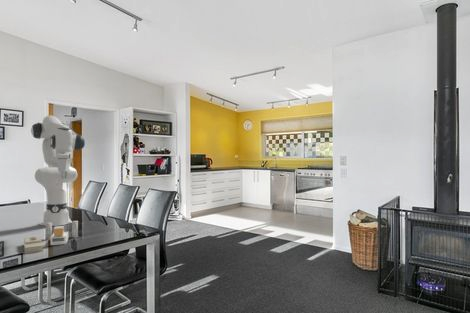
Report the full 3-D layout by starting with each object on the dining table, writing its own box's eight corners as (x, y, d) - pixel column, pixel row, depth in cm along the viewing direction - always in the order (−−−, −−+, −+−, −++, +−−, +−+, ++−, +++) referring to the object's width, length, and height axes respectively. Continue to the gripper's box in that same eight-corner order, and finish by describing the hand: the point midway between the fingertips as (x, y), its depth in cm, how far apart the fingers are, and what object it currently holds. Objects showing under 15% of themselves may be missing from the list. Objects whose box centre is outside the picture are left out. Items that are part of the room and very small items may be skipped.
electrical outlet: (24, 245, 144) (24, 237, 159) (24, 254, 144) (23, 245, 158) (42, 243, 148) (40, 235, 163) (42, 251, 148) (40, 243, 163)
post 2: (72, 236, 175) (72, 221, 175) (78, 236, 176) (78, 220, 176) (71, 237, 172) (71, 222, 172) (77, 237, 174) (77, 221, 174)
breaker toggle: (54, 235, 161) (54, 226, 161) (63, 234, 163) (63, 226, 163) (54, 236, 159) (54, 227, 159) (62, 235, 161) (62, 227, 161)
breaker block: (54, 239, 169) (54, 232, 169) (68, 238, 171) (68, 231, 171) (50, 245, 158) (50, 237, 158) (65, 244, 160) (65, 236, 160)
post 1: (46, 238, 170) (46, 222, 170) (52, 238, 171) (52, 222, 171) (45, 240, 167) (45, 223, 168) (51, 239, 169) (51, 223, 169)
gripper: (60, 155, 186) (60, 177, 186) (55, 155, 167) (55, 180, 167) (72, 155, 189) (72, 177, 188) (68, 155, 170) (68, 179, 170)
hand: (64, 178), depth 178 cm, fingers open, 8 cm apart
